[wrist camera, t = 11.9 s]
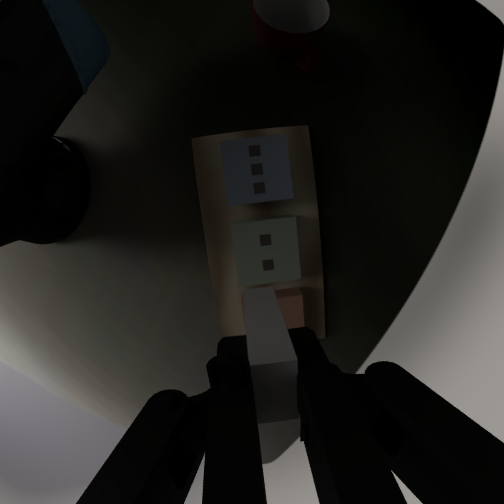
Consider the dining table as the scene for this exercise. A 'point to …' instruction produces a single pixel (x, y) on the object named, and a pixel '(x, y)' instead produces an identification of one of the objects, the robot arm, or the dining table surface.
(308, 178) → the board
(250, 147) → the tile
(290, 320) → the tile
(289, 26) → the mug
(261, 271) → the tile
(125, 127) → the dining table surface
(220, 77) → the dining table surface
